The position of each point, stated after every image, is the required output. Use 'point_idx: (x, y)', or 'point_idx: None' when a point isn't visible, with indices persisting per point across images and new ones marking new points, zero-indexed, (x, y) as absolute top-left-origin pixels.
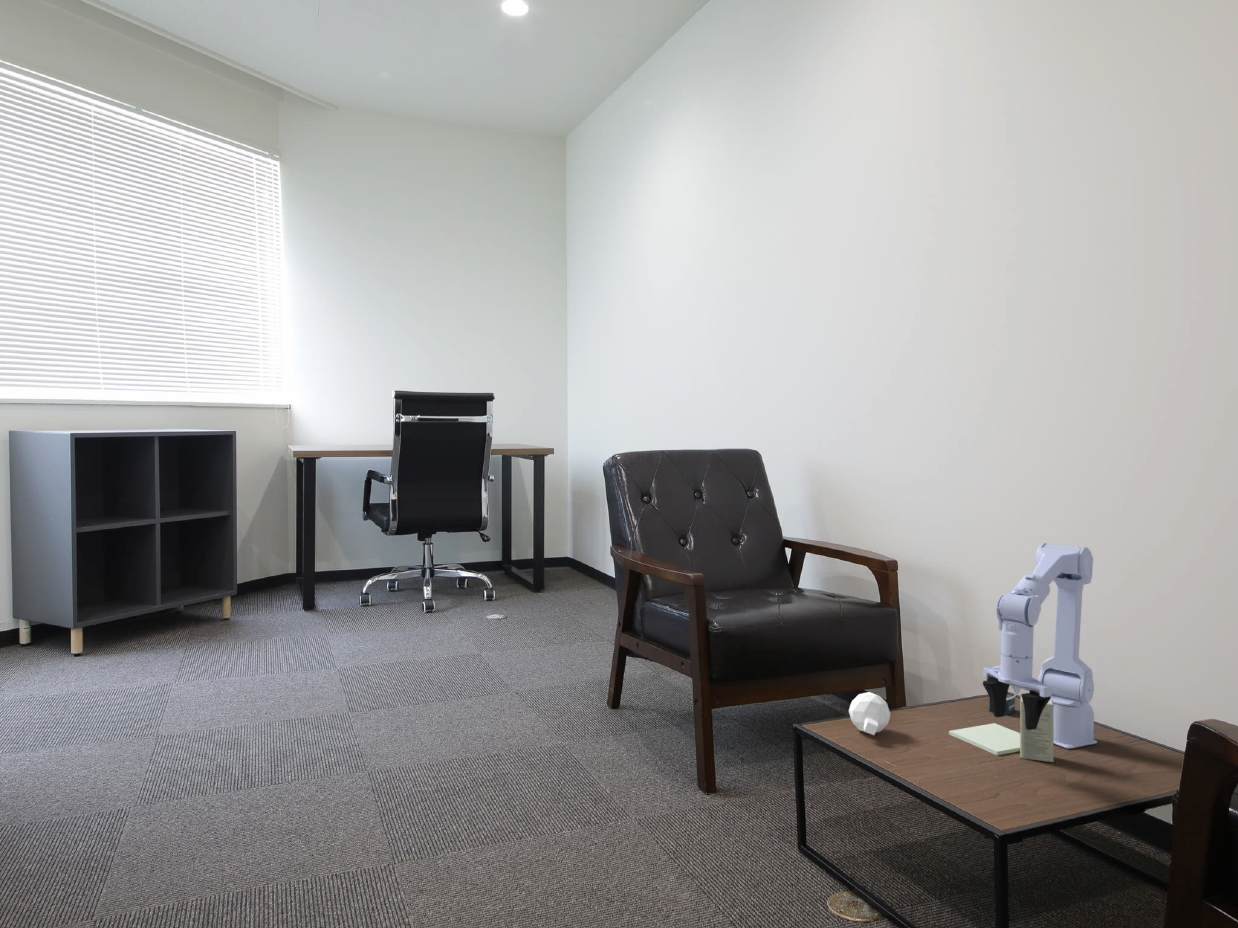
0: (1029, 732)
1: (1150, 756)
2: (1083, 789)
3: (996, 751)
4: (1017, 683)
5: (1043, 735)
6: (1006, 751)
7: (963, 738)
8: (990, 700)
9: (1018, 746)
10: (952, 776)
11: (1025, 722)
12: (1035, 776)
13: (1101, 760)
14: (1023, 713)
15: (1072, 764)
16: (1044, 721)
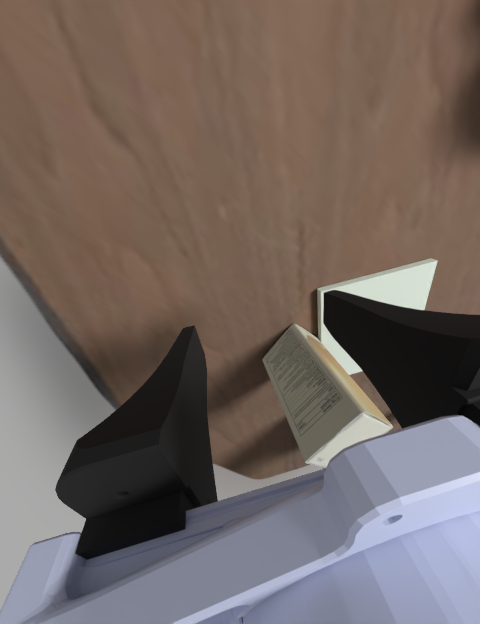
0: (305, 365)
1: (252, 462)
2: (151, 345)
3: (321, 290)
4: (240, 546)
5: (286, 381)
6: (319, 312)
7: (399, 269)
8: (390, 304)
9: (325, 340)
10: (244, 73)
11: (190, 335)
12: (214, 299)
13: (254, 417)
14: (337, 388)
15: (250, 380)
16: (298, 407)
